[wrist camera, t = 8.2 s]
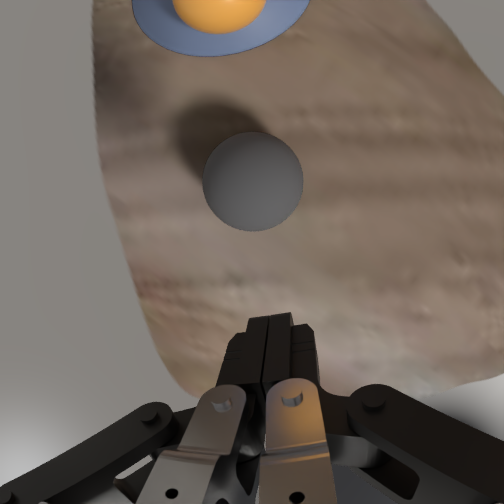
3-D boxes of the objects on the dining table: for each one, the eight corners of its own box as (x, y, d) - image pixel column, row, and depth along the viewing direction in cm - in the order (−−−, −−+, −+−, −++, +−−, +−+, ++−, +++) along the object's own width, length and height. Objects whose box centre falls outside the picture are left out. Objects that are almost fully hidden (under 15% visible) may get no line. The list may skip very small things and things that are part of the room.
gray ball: (228, 256, 21) (229, 185, 24) (319, 237, 19) (307, 163, 22) (177, 208, 16) (189, 131, 19) (291, 175, 14) (280, 99, 17)
